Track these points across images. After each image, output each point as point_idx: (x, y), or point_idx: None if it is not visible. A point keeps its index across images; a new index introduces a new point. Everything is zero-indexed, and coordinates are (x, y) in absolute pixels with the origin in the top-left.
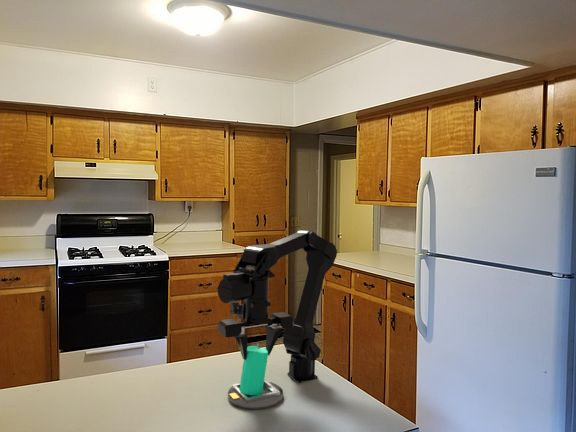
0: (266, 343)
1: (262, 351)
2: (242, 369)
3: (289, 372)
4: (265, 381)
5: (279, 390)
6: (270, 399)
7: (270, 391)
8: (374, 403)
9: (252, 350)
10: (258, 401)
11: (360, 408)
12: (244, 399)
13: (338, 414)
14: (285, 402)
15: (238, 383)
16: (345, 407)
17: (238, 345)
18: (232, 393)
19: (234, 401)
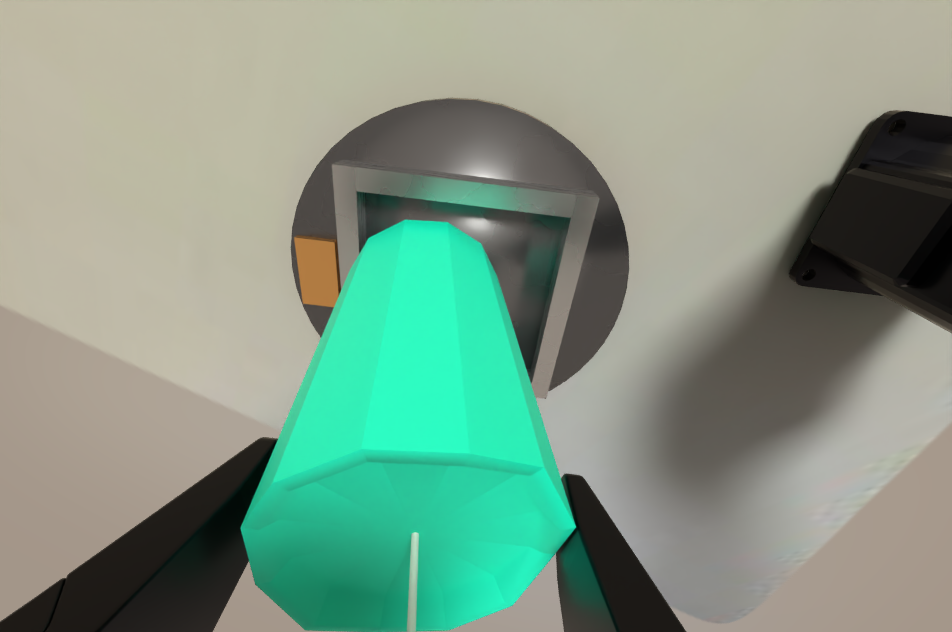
0: (602, 614)
1: (493, 536)
2: (316, 350)
3: (860, 184)
4: (568, 253)
5: (583, 342)
6: None
7: (533, 326)
8: (804, 546)
9: (367, 512)
10: None
11: (732, 541)
12: None
13: (637, 529)
14: (549, 392)
15: (384, 171)
16: (701, 518)
17: (50, 593)
18: (315, 243)
19: (306, 312)
